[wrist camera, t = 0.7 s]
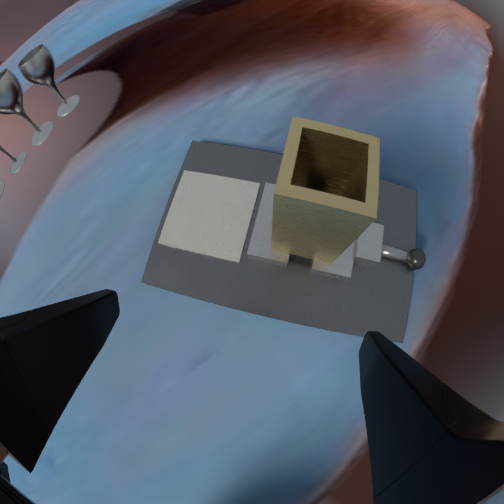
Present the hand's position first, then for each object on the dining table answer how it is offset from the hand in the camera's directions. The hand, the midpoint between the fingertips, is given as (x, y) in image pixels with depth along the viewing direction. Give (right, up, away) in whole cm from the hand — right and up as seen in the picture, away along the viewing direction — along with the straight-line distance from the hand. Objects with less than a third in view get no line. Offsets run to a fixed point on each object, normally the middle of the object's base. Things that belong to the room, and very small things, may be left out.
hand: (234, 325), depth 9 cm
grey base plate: (+5, +4, +14) cm, 15 cm away
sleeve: (+5, +4, +12) cm, 13 cm away
